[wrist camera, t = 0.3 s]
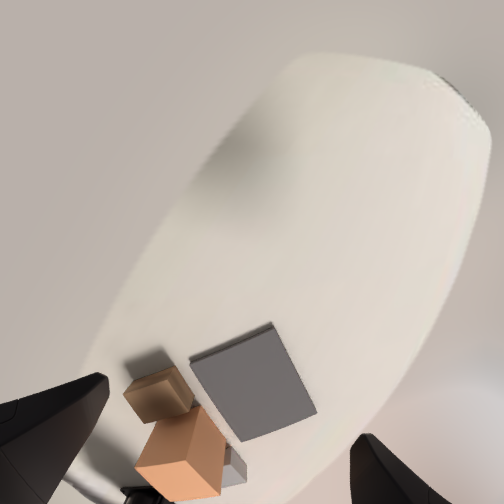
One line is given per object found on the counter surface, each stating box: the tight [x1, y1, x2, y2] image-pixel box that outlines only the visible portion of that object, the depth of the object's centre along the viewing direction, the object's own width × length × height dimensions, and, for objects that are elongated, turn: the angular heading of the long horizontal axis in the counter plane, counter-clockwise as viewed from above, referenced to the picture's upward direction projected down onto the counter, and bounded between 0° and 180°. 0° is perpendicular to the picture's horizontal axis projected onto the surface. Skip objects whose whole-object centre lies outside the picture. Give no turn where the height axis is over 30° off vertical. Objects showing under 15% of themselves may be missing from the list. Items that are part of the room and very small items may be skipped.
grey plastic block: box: [221, 447, 247, 488], centre depth 21 cm, size 5×4×3 cm
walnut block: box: [123, 366, 195, 424], centre depth 21 cm, size 5×4×3 cm
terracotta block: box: [134, 405, 226, 502], centre depth 19 cm, size 5×5×8 cm
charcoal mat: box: [189, 327, 317, 442], centre depth 22 cm, size 8×10×1 cm
